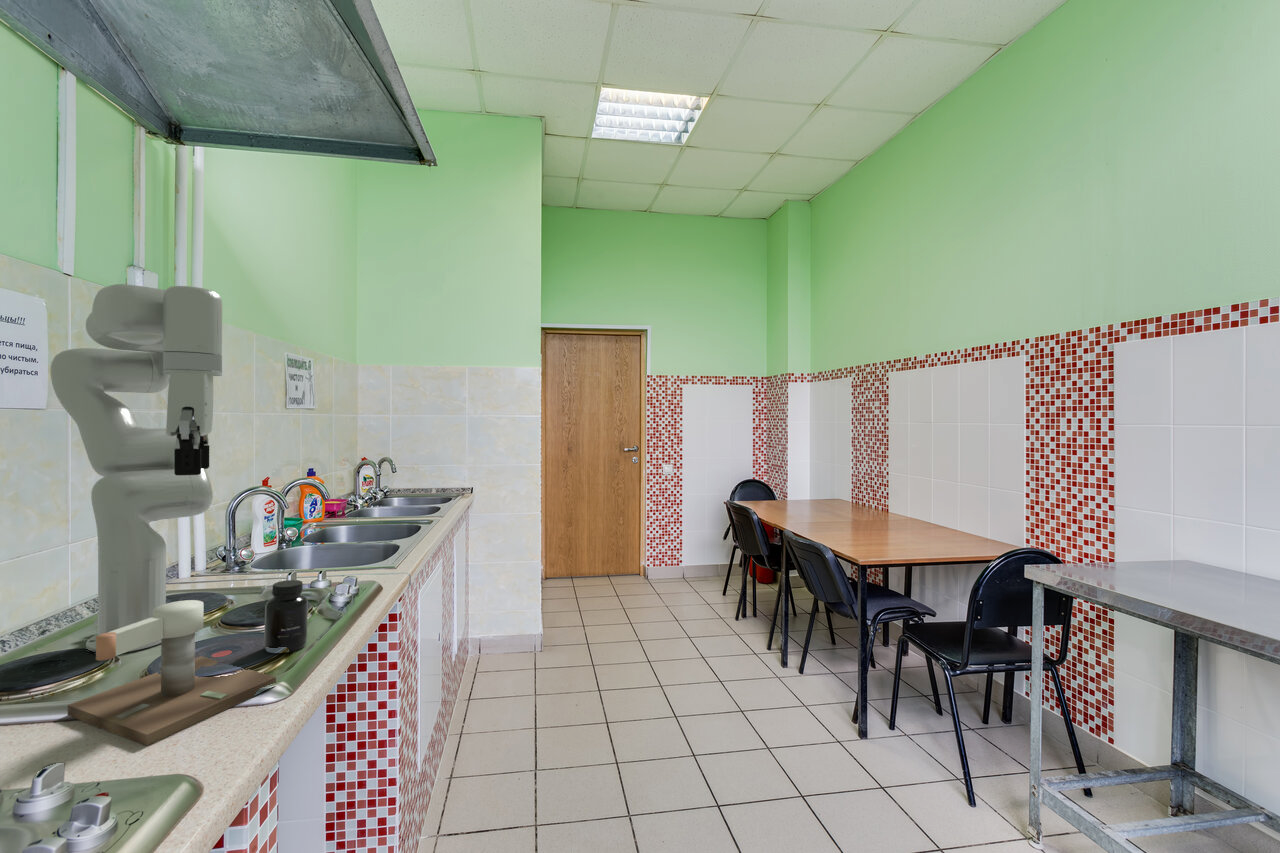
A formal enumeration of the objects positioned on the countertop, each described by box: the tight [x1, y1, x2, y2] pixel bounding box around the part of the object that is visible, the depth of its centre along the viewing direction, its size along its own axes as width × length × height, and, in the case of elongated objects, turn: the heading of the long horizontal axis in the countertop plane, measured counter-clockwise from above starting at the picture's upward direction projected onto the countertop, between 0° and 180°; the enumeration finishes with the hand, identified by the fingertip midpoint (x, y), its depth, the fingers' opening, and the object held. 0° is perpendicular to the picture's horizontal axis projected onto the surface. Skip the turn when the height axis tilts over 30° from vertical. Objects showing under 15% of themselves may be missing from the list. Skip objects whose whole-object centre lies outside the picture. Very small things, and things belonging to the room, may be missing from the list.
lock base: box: [67, 632, 277, 747], centre depth 88 cm, size 18×18×10 cm
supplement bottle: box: [263, 579, 309, 653], centre depth 108 cm, size 7×7×12 cm
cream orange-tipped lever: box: [95, 599, 205, 661], centre depth 84 cm, size 14×6×4 cm, turn 169°
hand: (192, 471), depth 94 cm, fingers open, 9 cm apart
